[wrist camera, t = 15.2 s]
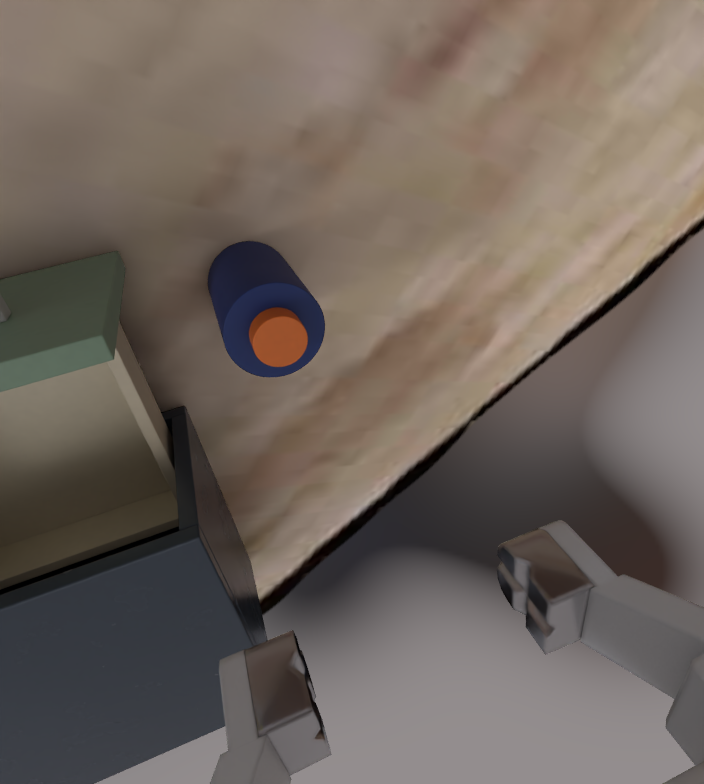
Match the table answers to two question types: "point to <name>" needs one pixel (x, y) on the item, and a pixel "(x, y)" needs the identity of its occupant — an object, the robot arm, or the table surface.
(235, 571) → the drawer unit
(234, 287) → the glue bottle
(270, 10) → the table surface
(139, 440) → the drawer
